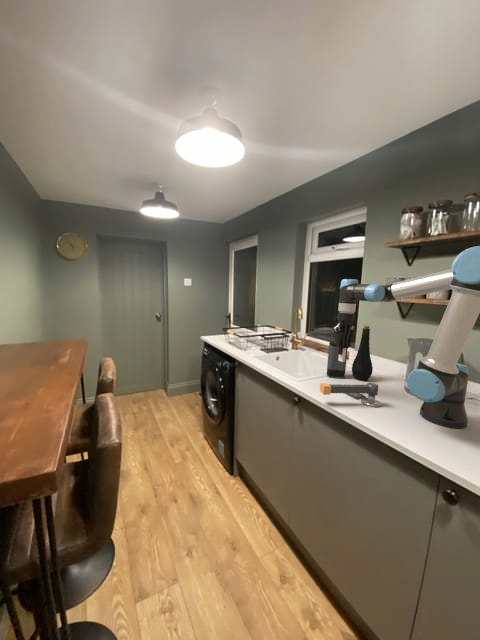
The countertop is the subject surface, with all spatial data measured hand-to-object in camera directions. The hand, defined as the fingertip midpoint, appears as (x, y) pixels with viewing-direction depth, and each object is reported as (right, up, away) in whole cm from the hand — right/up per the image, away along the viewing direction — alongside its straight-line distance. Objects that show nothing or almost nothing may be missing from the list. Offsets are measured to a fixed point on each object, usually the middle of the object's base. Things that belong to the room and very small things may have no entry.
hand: (341, 361), depth 132 cm
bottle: (+19, -14, +22) cm, 32 cm away
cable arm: (-2, -12, -14) cm, 18 cm away
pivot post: (+8, -17, -12) cm, 22 cm away
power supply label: (+5, -16, -4) cm, 17 cm away
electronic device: (+5, -13, +23) cm, 27 cm away
